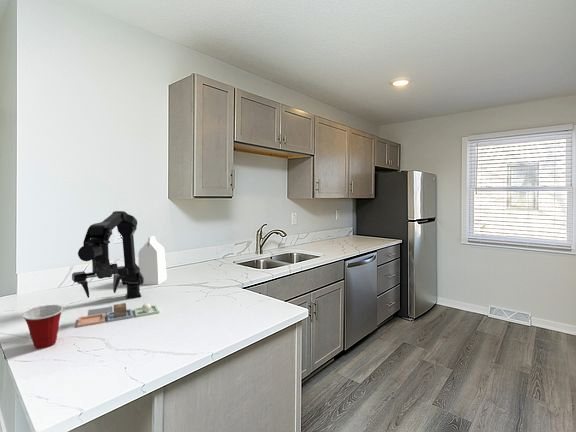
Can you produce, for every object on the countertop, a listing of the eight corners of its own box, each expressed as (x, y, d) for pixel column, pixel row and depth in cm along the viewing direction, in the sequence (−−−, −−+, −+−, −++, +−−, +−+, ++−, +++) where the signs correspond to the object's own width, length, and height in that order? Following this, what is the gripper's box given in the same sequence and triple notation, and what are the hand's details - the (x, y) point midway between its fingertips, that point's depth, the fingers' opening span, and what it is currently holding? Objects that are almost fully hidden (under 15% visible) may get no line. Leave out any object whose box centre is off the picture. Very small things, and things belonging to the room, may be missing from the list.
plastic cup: (20, 356, 101) (17, 318, 100) (28, 341, 110) (26, 307, 109) (62, 348, 106) (60, 312, 105) (67, 335, 115) (65, 302, 114)
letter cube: (113, 315, 133) (113, 304, 133) (125, 313, 135) (125, 302, 135) (114, 319, 129) (113, 307, 129) (126, 316, 131) (126, 305, 131)
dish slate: (107, 315, 134) (107, 312, 134) (131, 311, 138) (131, 308, 138) (107, 323, 126) (107, 320, 126) (133, 318, 131) (133, 315, 131)
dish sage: (134, 311, 139) (133, 308, 139) (156, 307, 143) (156, 304, 143) (135, 318, 131) (135, 315, 131) (159, 314, 136) (159, 311, 136)
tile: (88, 310, 139) (88, 310, 139) (112, 307, 144) (112, 306, 144) (87, 317, 131) (87, 316, 131) (112, 313, 136) (112, 312, 136)
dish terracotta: (78, 320, 129) (78, 317, 129) (104, 315, 133) (104, 313, 133) (77, 328, 121) (77, 325, 121) (104, 323, 126) (104, 320, 126)
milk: (158, 284, 180) (157, 238, 178) (138, 284, 180) (136, 238, 178) (166, 278, 192) (165, 235, 190) (147, 278, 192) (146, 235, 190)
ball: (141, 311, 138) (141, 303, 138) (150, 309, 140) (150, 301, 139) (142, 313, 135) (142, 305, 135) (151, 312, 137) (151, 304, 136)
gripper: (76, 262, 115) (77, 305, 116) (131, 256, 127) (132, 294, 128) (70, 258, 123) (72, 298, 124) (123, 252, 136) (124, 289, 137)
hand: (101, 295), depth 128 cm, fingers open, 9 cm apart
